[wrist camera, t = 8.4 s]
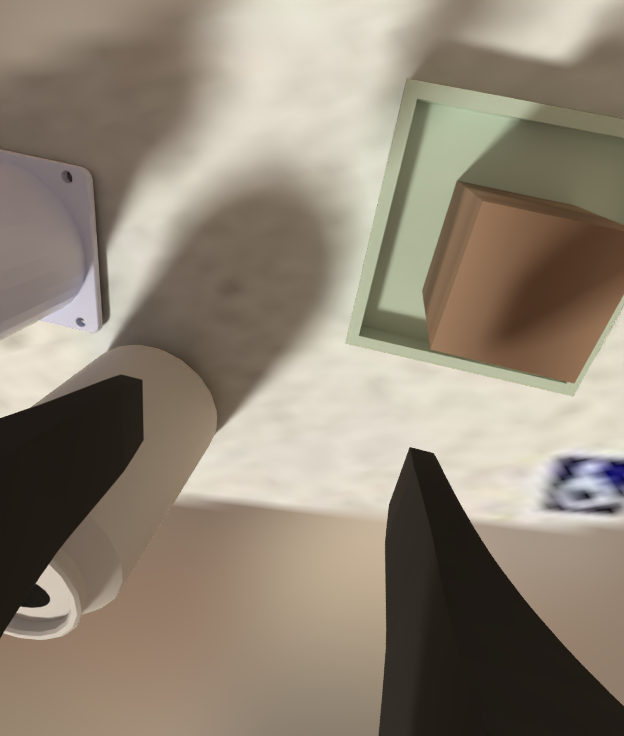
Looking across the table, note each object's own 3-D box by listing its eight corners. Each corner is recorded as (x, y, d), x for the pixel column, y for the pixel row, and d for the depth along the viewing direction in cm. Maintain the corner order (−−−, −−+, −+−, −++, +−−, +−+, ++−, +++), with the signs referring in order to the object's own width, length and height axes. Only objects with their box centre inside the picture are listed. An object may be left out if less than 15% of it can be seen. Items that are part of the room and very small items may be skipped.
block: (421, 290, 19) (430, 349, 14) (456, 180, 17) (482, 200, 12) (525, 314, 19) (574, 383, 14) (575, 205, 17) (655, 237, 11)
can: (113, 445, 27) (-64, 638, 17) (83, 333, 24) (-165, 488, 13) (229, 457, 26) (116, 672, 16) (215, 341, 23) (57, 519, 12)
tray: (348, 329, 21) (345, 343, 20) (406, 83, 16) (406, 78, 15) (561, 378, 20) (573, 396, 19) (688, 136, 15) (716, 136, 14)
